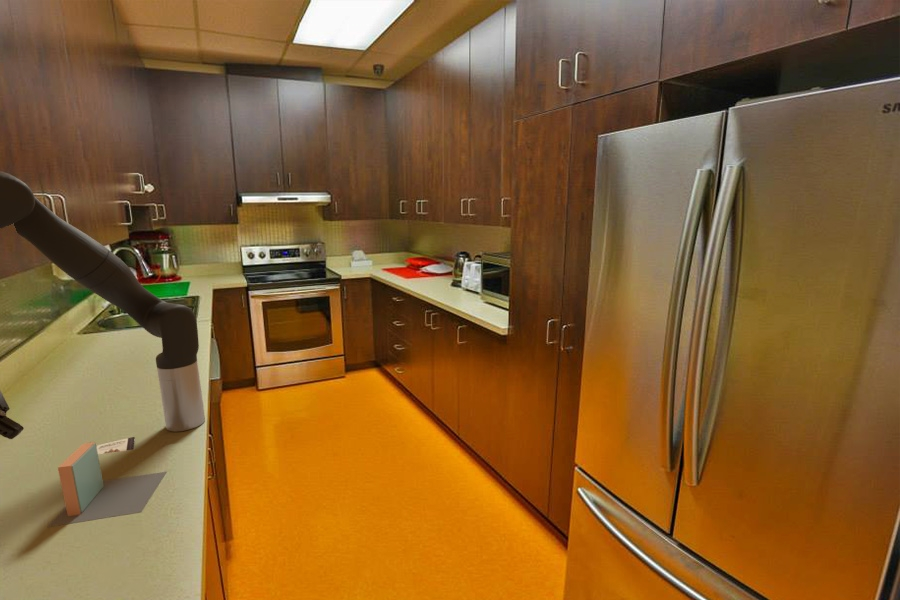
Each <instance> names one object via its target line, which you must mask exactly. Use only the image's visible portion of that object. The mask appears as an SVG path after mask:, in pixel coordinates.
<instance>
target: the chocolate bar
mask: <svg viewBox="0 0 900 600" xmlns="http://www.w3.org/2000/svg"><path fill="white" fill-rule="evenodd" d="M134 439H136V438H135V436H133V437H127V438H122V439H117V440H115V441H110V442H106V443H102V444H96V447H97V452H98V455H102V454H110V453H119V452H126V451H133V449H134V448H135V441H134Z"/></svg>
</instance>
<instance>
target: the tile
mask: <svg viewBox="0 0 900 600" xmlns="http://www.w3.org/2000/svg"><path fill="white" fill-rule="evenodd" d="M96 446H97V443H96V442H95V441H94V442H85V443H82V444H81V445H80V446H79V447H78V448H77V449H76V450H75V451H74V452H72V454H71V455H69V456H68V457H67V458H66V459H65V460H64V461H63V462H62V463H61V464H60V465H59V466H57V471H58V475H59V480H60V484H61V485H60V486H61V489H62V494H63V498H64V499H63V500H64V503H65V507H66V509H67V514H68V516H72V515H79V514H81V513H82V512H83V511H84V509H85V508H86V507H87V506H88V505H89V503H90V502H91V501H92V500H93V499H94V497H95V496H96V495H97V494H98V493H99V491H100V490H101V489H102V488H103V487H104V484H103V481H104V480H103V476H102V475H103V474H102V469H101V464H100V459H99V458H100V457H99V454H98V452H97V447H96Z"/></svg>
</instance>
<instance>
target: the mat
mask: <svg viewBox="0 0 900 600" xmlns="http://www.w3.org/2000/svg"><path fill="white" fill-rule="evenodd" d="M167 472H168V471H162V472H161V471H160V472H154V473H147V474H141V475H134V476H133V475H132V476H126V477H121V478H120V477H119V478H112V479H105V480H103V484H104V487H103V488H102V489H101V490H100V491H99V493H98V494H97V495H96V496H95V497H94V499H93V500H92V501H91V502H90V503H89V505H88V506H87V507H86V508H85V509H84V511H83V512H82V513H81V514H79V515H72V516H68V514H67V509H66V506H64V508H63V509H62V510H61V511H60V512H59V513H58V514H57V516H56V517H55V518H54V519H52V521H51V522H50V523H49V524H48V526H47V528H50V527H58V526H63V525H70V524H77V523H82V522H88V521H95V520H101V519H107V518H108V519H109V518H116V517H120V516H127V515H132V514H133V515H134V514H139V513H142V512H143V510H144V509H145V507H146V506H147V504H148V502H149V500H151V498H152V496H153V495H154V494H155V492H156V490H157V488H158V487H159V485H160V484H161V483H162V480H163V479H164V477H165V475H166V474H167Z"/></svg>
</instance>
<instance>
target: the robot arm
mask: <svg viewBox="0 0 900 600" xmlns="http://www.w3.org/2000/svg"><path fill="white" fill-rule="evenodd" d="M13 223H14V226H15V228H16V231H17V233H18V234H17V233H16V234H17V235H19V236H20V237H22V238H23V239H25V240H26V241H27V242H29V243H30V244H31V245H32V246H34V247H35V248H36V249H38V251H39V252H41V253H42V254H43V255H44V256H45V257H46V258H47V260H49V261H50V262H51V263H53V264H54V265H55V266H56V267H57V268H58V269H60V270H61V271H62V272H64V273H65V274H66V275H67V276H69V277H70V278H72V279H73V280H74V281H76V282H77V283H79V284H80V285H82V286H83V287H85V288H86V289H88V290H89V291H91V292H92V293H94V294H95V295H98V297H100V298H101V299H103V300H105V301H107V302H108V303H110V304H111V305H113V306H115V307H117V308H119V309H120V310H122V311H123V312H124V313H125V314H127V315H128V316H129V317H131V319H132V320H134V321H135V322H136V323H137V324H138V325H139V326H140V327H141V328H143V329H144V330H145V331H146V332H147V333H149V334H150V335H152V336H154V337H155V338H156V337H157V338H159V339H161V344H162V345H161V347H162V351H161V352H160V353H158V354H157V355H156V357H155V364H156V370H157V371H156V372H157V378H158V383H159V390H160V395H161V402H162V409H163V416H164V421H165V428H166V430H167V431H169V432H183V431H184V432H185V431H189V430H192V429H195V428H197V427H199V426H201V425H203V424H205V422H206V415H205V408H204V401H203V393H202V392H203V391H202V385H201V379H200V372H199V364H198V352H199V347H200V345H199V344H200V343H199V330H198V323H197V318H196V315H195V312H194V310H192V309H191V308H190V307H189V306H187V305H186V304H185V305H184V304H179V303H172V302H168V301H167V302H166V301H165V300H162V298H160V297H158V296H156V295H155V294H154V293H152V292H151V291H149V290H148V289H146V288H145V287H144V286H143V285H142V284H141V282H139V280H138V278H137V277H136V276H135V274H134V272H133V271H132V269H131V268H130V267H129V265H127V264H126V263H125V262H124V261H123V260H122V259H121V258H120V257H119V256H117V255H116V254H115V253H114V252H112V251H111V250H110V249H108V248H107V247H106V246H104V245H103V244H102V243H100V242H98V241H97V240H95V239H94V238H92V237H91V236H90V235H88V234H87V233H85V232H83V231H81V230H80V229H78V228H77V227H75V226H73V225H72V224H70V223H68V222H67V221H65V220H64V219H62V218H61V217H59V216H58V215H57V214H55V212H53V211H52V210H50V208H48V207H47V206H46V205H45V204H44V203H42V202H41V201H40V200H39V199H38V198H37V197H36V196H35V194H34V192H33V191H32V189H31V187H29V186H28V184H27V183H25V182H24V181H22V180H21V179H20V178H18V177H16V176H15V175H12V174H10V173H8V172H6V171H5V172H4V171H1V170H0V228H1V229H0V230H2V229H4V228H7V227H6V226H9V225H11V224H13ZM9 410H10V407H9V405H8V402H7V401H6V398H5V397H4V395H3V393H2V391H1V390H0V436H2V437H4V438H7V439H8V440H13V439H14V438H17V436H19V435H20V434H21V432H23V430H25V429H24V428H25V427H24V426H23V425H22V424H20V423H19V422H17V421H15V420H13V419H12V418H10V417H8V416H7V412H8V411H9Z"/></svg>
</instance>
